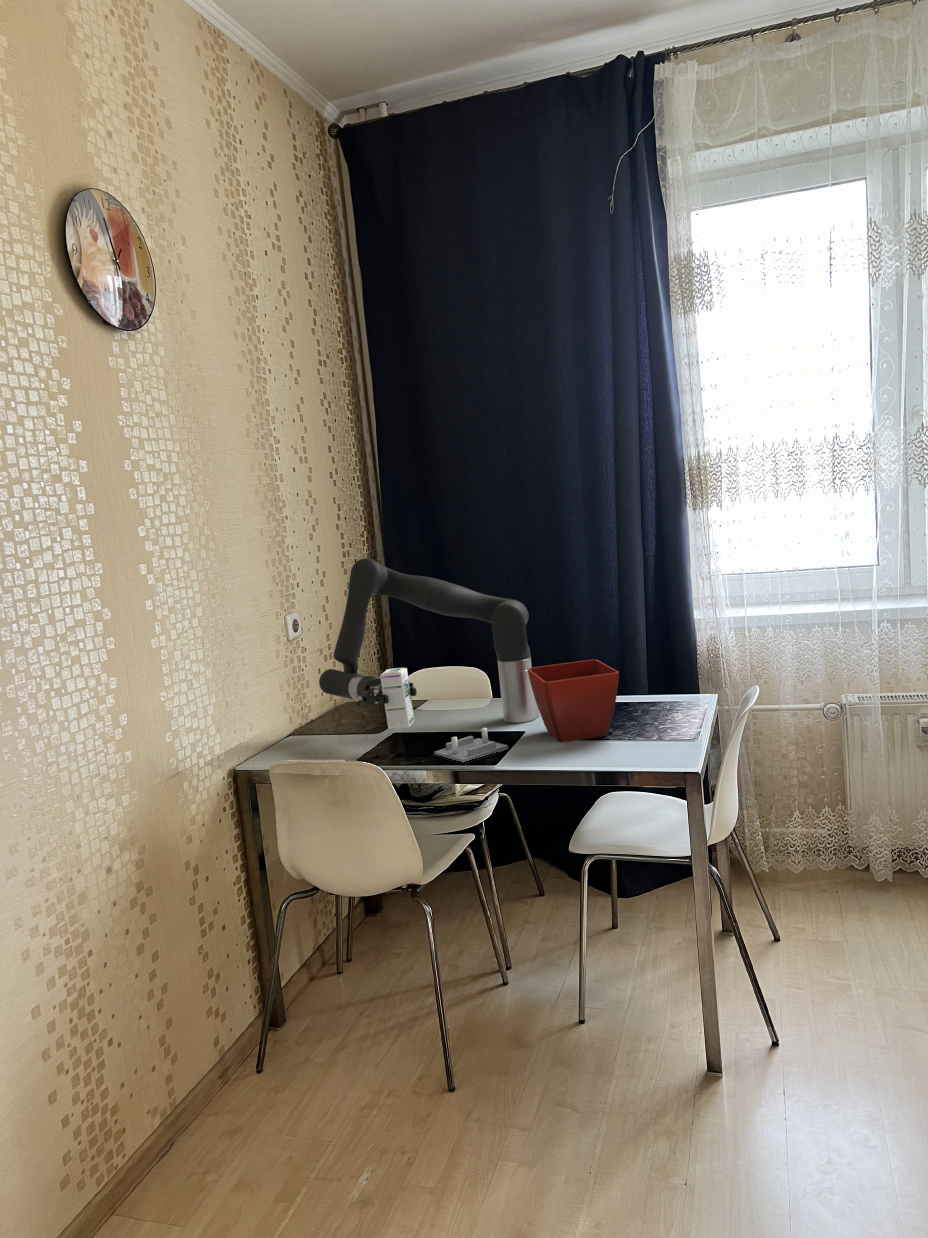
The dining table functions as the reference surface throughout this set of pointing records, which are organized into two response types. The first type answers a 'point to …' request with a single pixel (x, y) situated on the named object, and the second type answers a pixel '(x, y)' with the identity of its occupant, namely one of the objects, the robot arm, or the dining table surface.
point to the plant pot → (575, 698)
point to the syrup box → (397, 698)
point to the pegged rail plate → (470, 748)
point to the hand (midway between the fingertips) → (401, 695)
